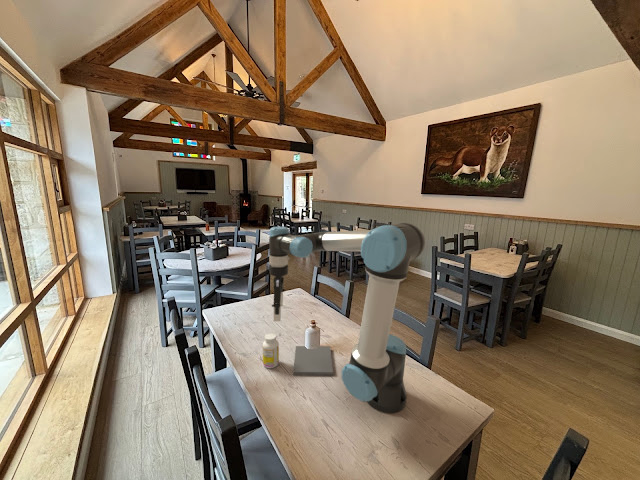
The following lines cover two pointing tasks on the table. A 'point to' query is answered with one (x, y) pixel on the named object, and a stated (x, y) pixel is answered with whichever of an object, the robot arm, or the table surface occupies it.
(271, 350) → the supplement bottle
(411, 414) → the table surface
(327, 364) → the slate board
